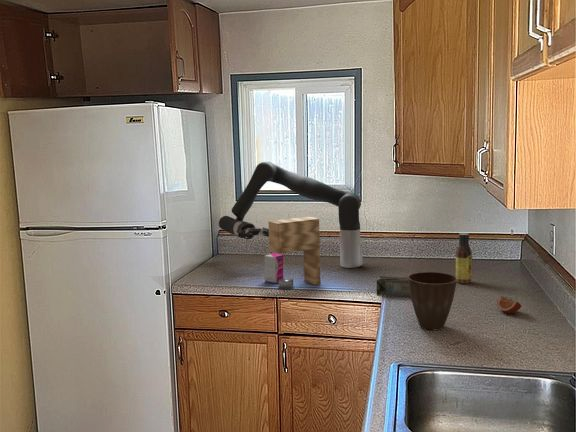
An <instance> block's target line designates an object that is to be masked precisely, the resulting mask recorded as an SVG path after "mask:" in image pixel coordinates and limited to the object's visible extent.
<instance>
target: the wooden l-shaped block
mask: <svg viewBox="0 0 576 432" xmlns="http://www.w3.org/2000/svg"><path fill="white" fill-rule="evenodd" d="M267 223H268V224H267V225H268V229H269V237H268V249H269V250H268V251H270V252H272V253H274V254H280V255H282V254H286V253H295V252H300V251H303V281H304V282H307V283H310V284H312V285H319V284H320V285H321V245H320V243H321V242H320V240H321V239H320V238H321V237H320V236H321V235H320V218H318V217H313V216H301V217H293V218H285V219H284V218H283V219H276V220H275V219H274V220H268V222H267Z"/></svg>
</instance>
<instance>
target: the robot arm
mask: <svg viewBox="0 0 576 432" xmlns="http://www.w3.org/2000/svg"><path fill="white" fill-rule="evenodd" d="M267 182H271V183H275V184H277V185H281V186H284V187H285V188H286V189H288V190H290V191H291V192H293V193H295V194H297V195H299V196H301V197H304V198H307V199H309V200H313V201H317V202H323V203H328V204H331V205H333V206H336V207H338V208H337V209H338V211H337V212H338V224H339V245H340V246H339V247H340V248H339V251H340V253H339V254H340V257H339V258H340V261H339V262H340V267H342V268H347V269H351V268H358V267H361V266H363V245H362V244H361V223H360V208H361V205H362V200H361V199H360V197H359V196H358V195H357V194H355V193H353V192H349V191H348V192H347V191H344V190H341V189H338V188H335V187H333V186H330V185H328V184H326V183H323V182H321V181H319V180H317V179H315V178H312V177H310V176H306V175H303V174H300V173H297V172H293V171H291V170H287V169H285V168H284V167H280V166H279V165H278V164H275V163H273V162H270V161H262V162H259V163H258V164H257V165H256V166H255V169H254V171H253V173H252V176H251V177H250V180H249V181H248V183H247V185H246V187H245V188H244V190H243V191H242V193H241V195H239V197H238V199H237V201H236V202H235V203H234V205H233V206H232V207H231V213H232V214H233V215H234V216H235V217H236V218H233V217H231V216H228V215H223V216H222V217H221V218H220V219H219V221H218V226H219V229H221V230H222V231H224V232H226V233H228V234H230V235H235V236H236V237H238V238H240V239H244V240H251V239H253V238H254V237H263V236H265V237H268V238H269V228H267V227H260V228H259V227H257V226H255V225H254V224H253V223H250V222H248V221H244V220H245V219H244V218H245V217H246V215H247V213H248V212H249V211H250V209H251V207H252V206H253V204H254V202H255V200H256V197H257V195H258V193H259V192H260V191H261V189H262V188H263V186H264V185H266V184H267Z"/></svg>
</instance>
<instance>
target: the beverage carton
mask: <svg viewBox="0 0 576 432" xmlns="http://www.w3.org/2000/svg"><path fill="white" fill-rule="evenodd" d="M375 282H376V288H375V289H376V295H377V296H386V297H387V296H388V297H389V296H390V297H409V298H411V294H410V288H409V281H408V276H386V275H385V276H384V275H380V276H378V277H377V279H376V281H375Z"/></svg>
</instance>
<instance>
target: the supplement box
mask: <svg viewBox="0 0 576 432" xmlns="http://www.w3.org/2000/svg"><path fill="white" fill-rule="evenodd" d="M282 278H284V254H278V253H275V252H272V253H269V254H265V255H264V283H267V284H268V283H269V284H273V285H275V284H279V279H282Z"/></svg>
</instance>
